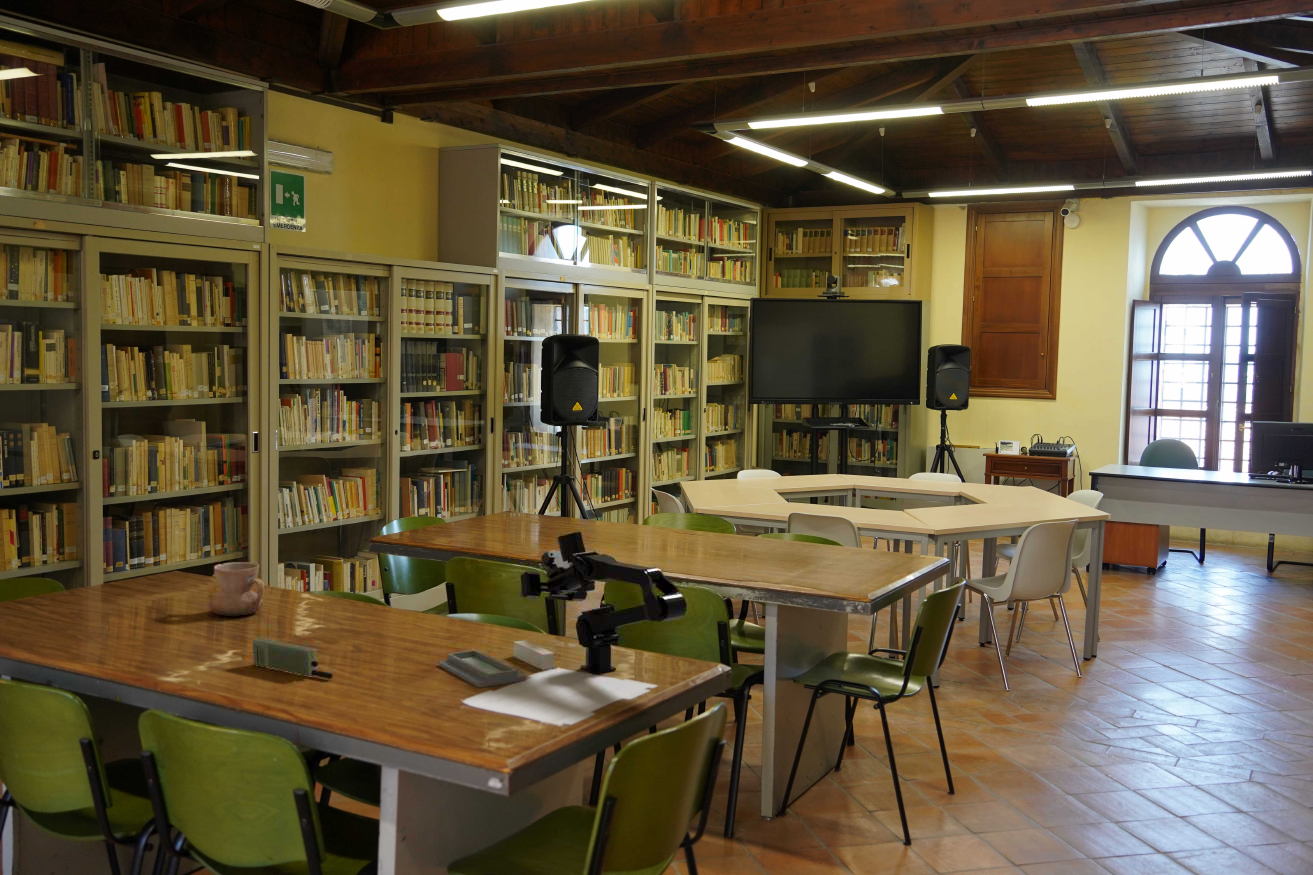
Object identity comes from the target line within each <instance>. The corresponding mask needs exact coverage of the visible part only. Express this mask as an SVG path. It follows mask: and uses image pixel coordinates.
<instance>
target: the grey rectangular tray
mask: <svg viewBox="0 0 1313 875" xmlns="http://www.w3.org/2000/svg"><path fill="white" fill-rule="evenodd" d="M438 666H439V667H440V668H442V669H444V670H446V671H447V672H450V673H451V674H453V675H455V676H457V677H459V678H460V679H462V680H465V681H466V682H468V683H470V684H472V685H474V686H475V687H476V688H477V687H478V688H479V689H480V688H487V687H493V686H497V685H503V684H504V685H505V684H510V683H515V682H522V681H527V675H526V674H523V673H521V672H520V671H519V669H516V668H515V667H512V666H510V665H508V664H506V663H504V662H502V661H501V660H498V659H496V658H494V657H492V656H490V655H488V654H486V653H483V652H481V651H479V650H477V649H471V650H465V651H458V652H450V653H447V654H446V660H441V661H440V660H439V661H438Z"/></svg>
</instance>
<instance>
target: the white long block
mask: <svg viewBox="0 0 1313 875" xmlns="http://www.w3.org/2000/svg"><path fill="white" fill-rule="evenodd" d="M513 657H514V658H516V659H518V660H521V661H523V662H524V661H525V663H527V664H529V665H531V666H532V667H533V666H534V667H535V668H537V669H539V668H540V670H541V669H542V671H546V670H545V669H548V670H552V669H551V668H554V669H555V652H553V651H550V650H547V649H545V648H544V647H542V646H539V645H536V644H534V643H533V642H532V643H531V641H527V640H516V641H513Z"/></svg>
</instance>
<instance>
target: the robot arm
mask: <svg viewBox="0 0 1313 875" xmlns="http://www.w3.org/2000/svg"><path fill="white" fill-rule="evenodd" d="M556 539H557V540H556V541H557V544H558V547H559V550H555V549H554V550H553V549H552V550H548V551H546V552H544V553H543V554H542V556H541V558H540V559H541V562H542V564H543V566H545V567H547V568H548V571H546V577H547V578H548V579H547V581H541V574H540V573H539V572H538V571H530V570H529V571H523V572H522V573H521V574H520V585H521V586H520V587H521V590H520V591H519V597H521V598H525V599H531V600H532V599H536V598H539V597H541V595H542V593H549V594H548V598H549V599H551V600H560V601H567V602H583V601H584V600H586V599H587V597H588V592H591V591H592V592H593V591H595V589H596V585H595V584H596V581H597V580H605V579H606V580H607V579H609V580H613V581H620V582H623V583H628V584H629V583H630V584H634V585H639V586H640V588H641V591H642V600H643V604H641V605H637V606H632V607H628V608H624V609H619V610H615V611H612V609H611V608H612V607H611V606H610V605H609V606H603V607H598V608H597V607H596V608H592V609H589V610H585V611H584V610H583V611H581V614H580V615H578V616H577V620H576V623H575V630H576V635H577V640H578V643H579V645H580V646H582V648H585V664H584V665H583V664H582V665H580V669H582V670H584V671H587V672H589V673H591V674H600V673H606V672H613V671H617V667H615V666H612V645H614V644H618V643H619V640H620V637H621V635H620V633H619V632H618V630H617V628H619V627H623V626H628V625H631V624H636V623H639V622H645V621H648V622H651V623H653V622H654V623H655V622H656V623H657V622H658V623H660V622H664V621H666V622H667V621H670V620H676V619H680V618H683V617H684V616H686V612H687V606H688V604H687V601H686V599H685V597H684V595H683V594H682V592H681V591H680V588H679V587H678V586H677V585H675V583H673V582H672V581H671V580H669V579H668V578H667V577H666V576H665V575H664V573H663V572H662V570H661V569H660V568H658V567H649V566H643V565H637V564H633V563H625V562H621V561H618V560H617V559H616V558H615V557H614V556H611V555H608V554H606V553H599V552H596V551H586V548H585V544H584V540H583V535H582V532H581V531H574V532H571V533H568V534H564V535H558V537H557V538H556ZM653 586H654V587H656V589H658V590H659V591H660V592H661V593H663V594H661V595H656V594H655V592H654V588H653ZM611 644H612V645H611Z"/></svg>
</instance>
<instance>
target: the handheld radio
mask: <svg viewBox="0 0 1313 875" xmlns="http://www.w3.org/2000/svg"><path fill="white" fill-rule="evenodd" d="M252 649H253V652H252V654H253V666H254V665H258V666H263V667H269V668H275V669H279V670H282V671H288V672H292V673H297V674H301V675H306V676H313V675H314V676H315V677H319V678H323V679H328V680H331V679H333V676H334V675H333V673H331V672H327V671H321V670H318V668H317V667H318V666H319V662H318V661H317V658H318V653H317V651H318V650H319V649H318V648H313V647H308V646H303V645H299V644H293V643H288V642H284V641H283V642H282V641H277V640H272V639H267V638H262V637H257V638H254V639H253V640H252Z"/></svg>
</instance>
